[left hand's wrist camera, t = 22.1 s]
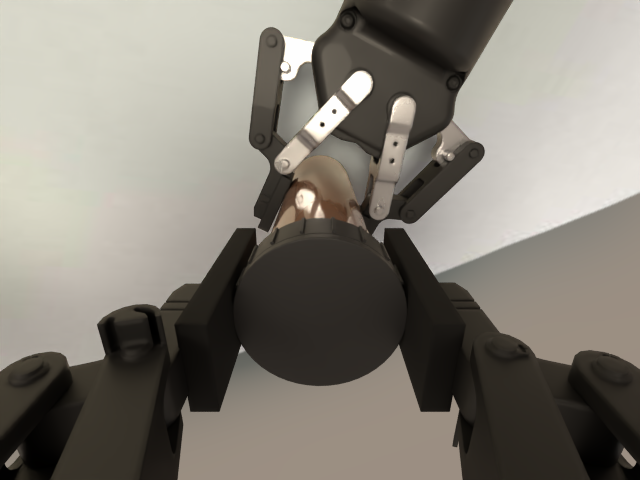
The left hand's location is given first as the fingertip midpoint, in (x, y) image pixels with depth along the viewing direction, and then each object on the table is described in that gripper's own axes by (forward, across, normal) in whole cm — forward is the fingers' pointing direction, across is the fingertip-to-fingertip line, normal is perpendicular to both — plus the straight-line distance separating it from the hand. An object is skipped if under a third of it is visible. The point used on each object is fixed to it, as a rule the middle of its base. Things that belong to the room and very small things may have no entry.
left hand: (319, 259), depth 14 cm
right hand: (+8, -1, -2) cm, 8 cm away
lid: (-4, 0, 0) cm, 4 cm away
